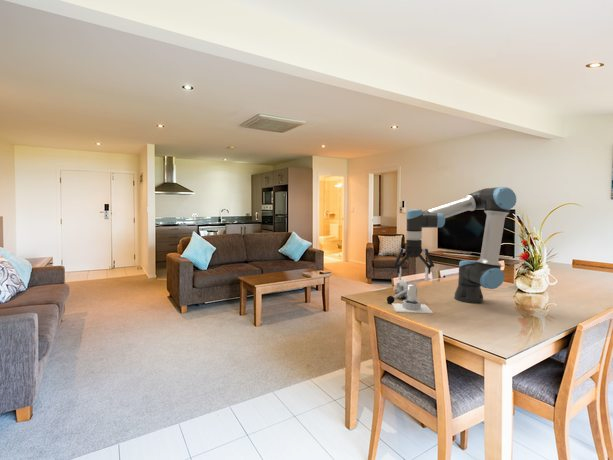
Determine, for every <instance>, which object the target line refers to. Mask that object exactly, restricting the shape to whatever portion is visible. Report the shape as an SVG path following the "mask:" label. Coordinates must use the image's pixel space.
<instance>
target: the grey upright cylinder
mask: <svg viewBox="0 0 613 460" xmlns="http://www.w3.org/2000/svg"><path fill="white" fill-rule="evenodd" d="M406 300H407V303H410V304H417V301H418V284H415V283H408V284H407V299H406Z"/></svg>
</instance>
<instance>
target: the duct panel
mask: <svg viewBox="0 0 613 460" xmlns="http://www.w3.org/2000/svg"><path fill="white" fill-rule="evenodd" d="M391 306H392V307H393V309H394V311H395V312H396V313H408V314H432V315H433V314H434V312H433V311H432V310H431V309H430V307H429V306H427V305H426V303H423V304H422V303H421V301H419V300H417V304H410V303H407V299H403V300H402V302H401V303H398V302H396V303H395V302H393V303H391Z"/></svg>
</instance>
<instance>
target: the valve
mask: <svg viewBox="0 0 613 460" xmlns="http://www.w3.org/2000/svg"><path fill="white" fill-rule="evenodd" d="M407 284H409V283H408V282H407V281H404V280H399V282H397V283H396V285H395V288H394V294H395V295H393V296H392V295H388V296H387V297H386V301H387V303H388V304H392V303H395V301H396V300H395V299H397V298H399V299H401V298H402V299H403V298H404V299H405V300H407Z"/></svg>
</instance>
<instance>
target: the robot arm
mask: <svg viewBox="0 0 613 460" xmlns="http://www.w3.org/2000/svg"><path fill="white" fill-rule="evenodd" d="M516 203H517V195H516V193H515V192H514V190H513V189H512V188H509V187H507V186H498V187H487V188H482V189H479V190H477V191H474V192H471V193H469V194H466V195H465V196H464V197H463V198H459V199H457V200H452V201H450V202H447V203H444V204H442V205H439V206H436V207H433V208H430V209H426V210H422V209H408V210H407V212H406V240H405V241H406V242H405V244H406V245H405V248H402V247H400V249H399V252H398V254H397V257H396V258H395V260H394V263H393V267H396V274H398V280H399V281H402V266H403V264H404V263H405V262H406V260H408V259H409V258H420V260H421V262H423V263H424V265H425V266H426V267H425V270H424V271H425V273H424V274H425V275H424V276H425V277H424V280H425V281H429V275H430V274H431V268H434V267H435V264H434V262H433V260H432V258H431V255H430V254H429V249H428V248H422V244H423V243H422V239H423V235H422V233H423V232H422V231H423V229H425V228H431V229H432V228H437V229H438V228H442V227H444V226H445V224H446V219H447V218H450V217H454V216H456V215H459V214H461V213H464V212H467V211H470V212H473V211H476V210H483V212H484V213H485V215H486V218H485V224H484V231H483V237H482V245H481V252H480V256H479V257H480V258H479V259H477V260H460V261H459V264H458V265H459V266H458V281H457V282H458V283H457V286H456V290H455V292H454V296H453V297H454V299H455V300H456V301H460V302H462V303H463V302H464V303H471V304H472V303H473V304H479V303H483V302H484V295H483V292H482V289H481V287H482V288H484V289H488V290H495V289H497V288H499V287H500V286H501V285H502V284H503V283H504V280H505V273H504V271H503V270H502V269H501V267H502V264H501V263H500V261H499V259H500V252H501V245H502V240H503V239H502V238H503V233H504V228H505V227H504V226H505V221H506V217H507V216H508V215H509V214H510V210H511V209H513V208H514V207H515V206H516ZM404 253H406V254H405V255H404V257H403V258H402V259H401V257H402V256H403V254H404ZM422 253H423V254H424V255H425V257H426V259H427V260H428V262H427V260H426V259H425V258H424V257H423V256H422ZM400 259H401V260H400Z"/></svg>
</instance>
